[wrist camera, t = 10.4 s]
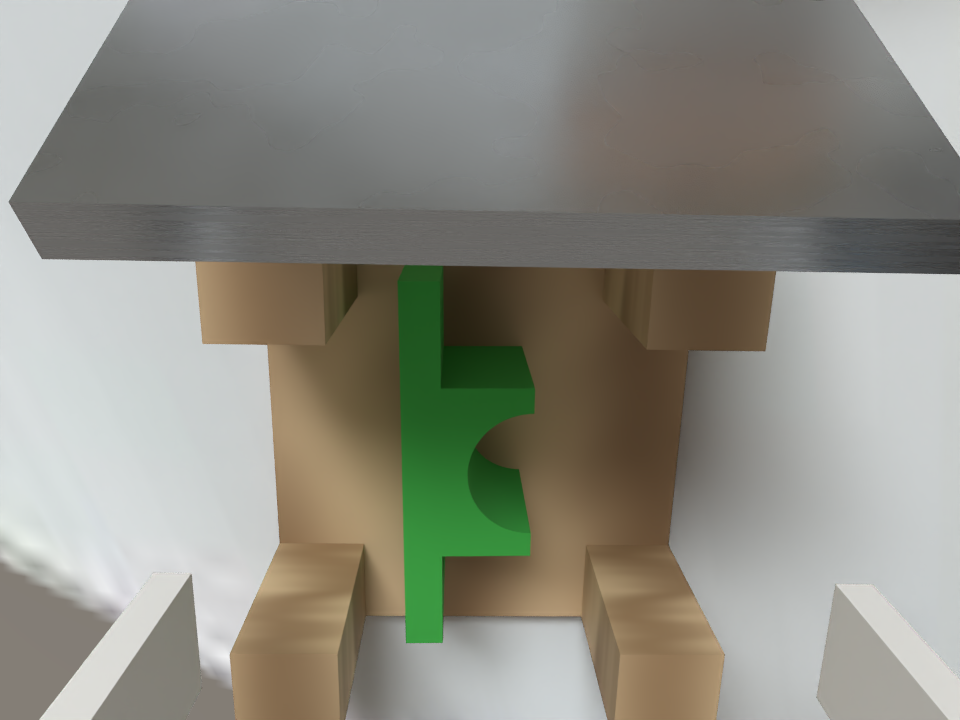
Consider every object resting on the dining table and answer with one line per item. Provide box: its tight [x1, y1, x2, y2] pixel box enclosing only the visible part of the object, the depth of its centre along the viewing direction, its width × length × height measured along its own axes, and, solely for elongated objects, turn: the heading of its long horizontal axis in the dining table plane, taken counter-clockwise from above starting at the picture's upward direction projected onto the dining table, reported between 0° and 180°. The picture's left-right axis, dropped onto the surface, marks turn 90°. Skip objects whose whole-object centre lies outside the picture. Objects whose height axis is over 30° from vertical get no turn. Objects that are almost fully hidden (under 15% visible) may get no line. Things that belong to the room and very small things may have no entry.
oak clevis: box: [195, 261, 776, 720], centre depth 22 cm, size 14×22×7 cm, turn 179°
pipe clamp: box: [397, 265, 535, 643], centre depth 23 cm, size 11×4×5 cm, turn 0°
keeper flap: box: [9, 0, 960, 274], centre depth 13 cm, size 13×9×1 cm
